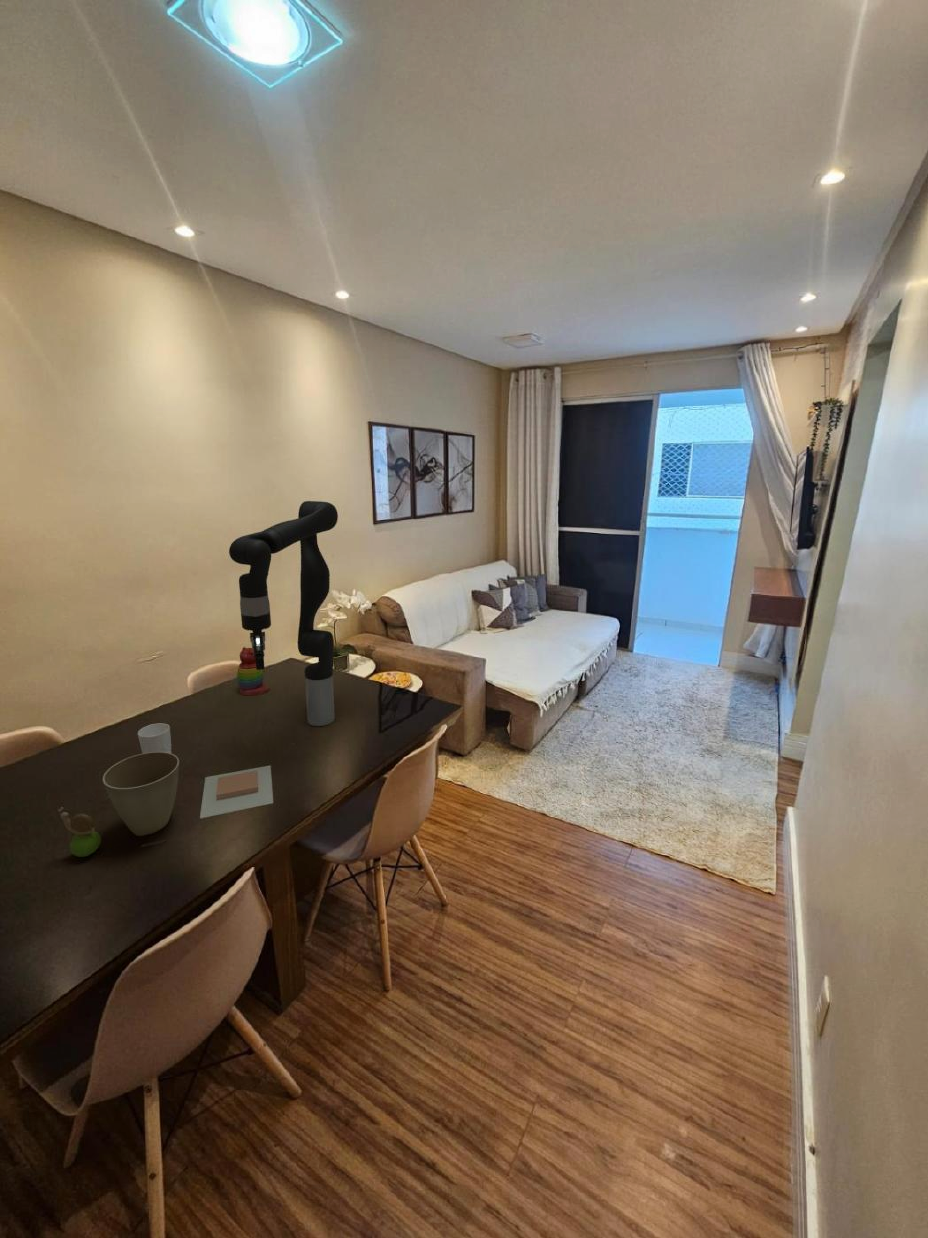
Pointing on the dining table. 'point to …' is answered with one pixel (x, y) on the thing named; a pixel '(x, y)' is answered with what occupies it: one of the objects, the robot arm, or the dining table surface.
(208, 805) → the mat
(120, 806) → the plant pot
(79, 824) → the snail figurine
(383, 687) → the dining table surface
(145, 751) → the white cup
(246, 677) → the stacking bear
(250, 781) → the tile
